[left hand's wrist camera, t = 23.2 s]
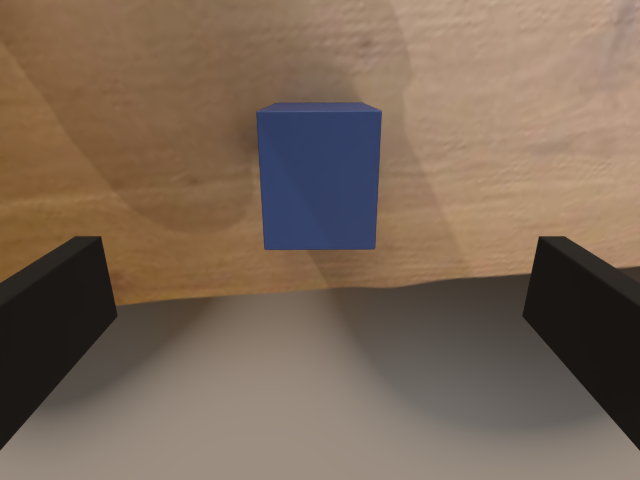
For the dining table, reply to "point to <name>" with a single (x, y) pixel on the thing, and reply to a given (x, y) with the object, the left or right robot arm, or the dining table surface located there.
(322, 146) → the brick
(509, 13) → the dining table surface
